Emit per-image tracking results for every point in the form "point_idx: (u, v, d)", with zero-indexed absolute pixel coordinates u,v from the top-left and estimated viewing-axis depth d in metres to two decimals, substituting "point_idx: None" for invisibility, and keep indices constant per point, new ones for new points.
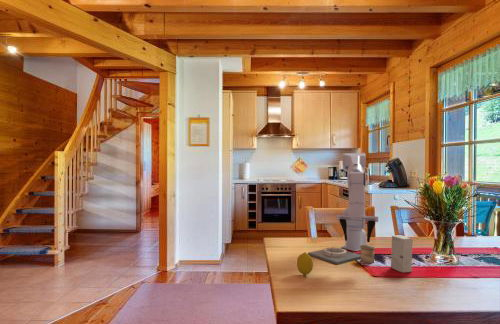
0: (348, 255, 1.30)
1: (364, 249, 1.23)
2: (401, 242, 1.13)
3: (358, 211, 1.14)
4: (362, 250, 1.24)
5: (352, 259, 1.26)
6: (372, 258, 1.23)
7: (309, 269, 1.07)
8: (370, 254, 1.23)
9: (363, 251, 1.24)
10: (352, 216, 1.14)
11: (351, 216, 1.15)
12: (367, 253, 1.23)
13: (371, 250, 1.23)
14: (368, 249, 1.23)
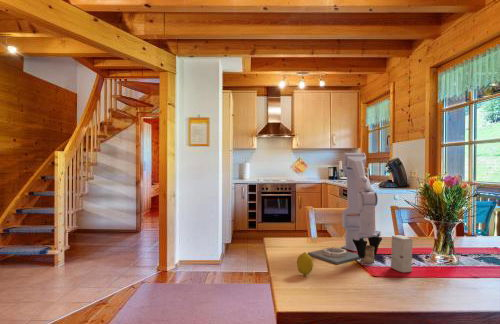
0: (348, 255, 1.30)
1: None
2: (401, 242, 1.13)
3: (374, 230, 1.23)
4: None
5: (352, 259, 1.26)
6: (372, 258, 1.23)
7: (309, 269, 1.07)
8: (370, 254, 1.23)
9: None
10: (370, 235, 1.22)
11: (369, 235, 1.22)
12: (367, 253, 1.23)
13: (371, 250, 1.23)
14: (368, 249, 1.23)
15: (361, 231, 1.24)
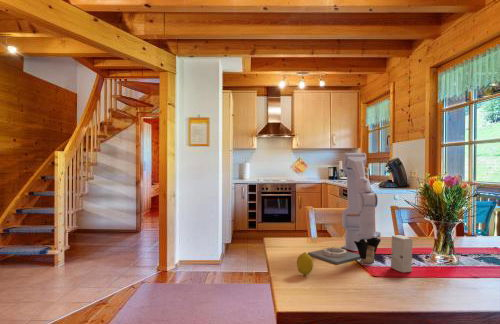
0: (348, 255, 1.30)
1: None
2: (401, 242, 1.13)
3: (374, 231, 1.23)
4: None
5: (352, 259, 1.26)
6: (372, 258, 1.23)
7: (309, 269, 1.07)
8: (370, 254, 1.23)
9: None
10: (370, 236, 1.22)
11: (369, 237, 1.22)
12: (367, 253, 1.23)
13: (370, 250, 1.23)
14: (368, 249, 1.23)
15: (361, 232, 1.24)
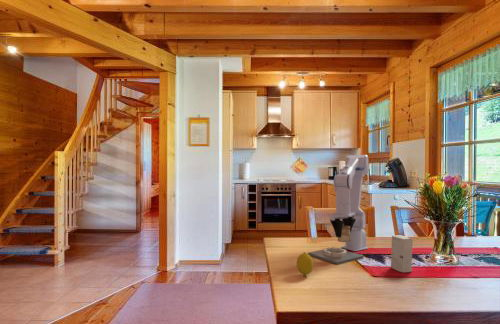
0: (348, 255, 1.30)
1: None
2: (401, 242, 1.13)
3: (349, 211, 1.29)
4: None
5: (352, 259, 1.26)
6: (348, 237, 1.28)
7: (309, 269, 1.07)
8: (346, 233, 1.28)
9: None
10: (345, 216, 1.28)
11: (344, 216, 1.28)
12: (343, 232, 1.28)
13: (346, 228, 1.28)
14: (344, 228, 1.28)
15: (337, 212, 1.30)
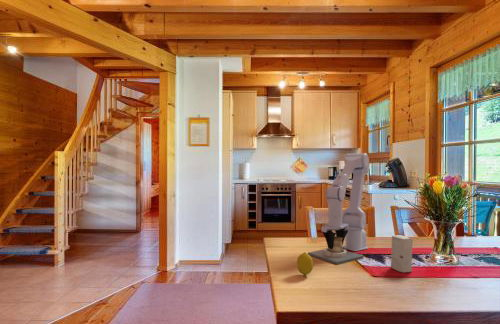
0: (348, 255, 1.30)
1: None
2: (401, 242, 1.13)
3: (341, 222, 1.30)
4: None
5: (352, 259, 1.26)
6: (340, 248, 1.30)
7: (309, 269, 1.07)
8: (338, 244, 1.30)
9: None
10: (337, 227, 1.29)
11: (336, 227, 1.29)
12: (335, 243, 1.30)
13: (338, 240, 1.30)
14: (336, 240, 1.30)
15: (329, 224, 1.32)
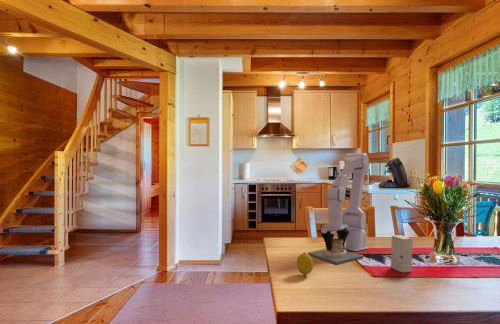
0: (348, 255, 1.30)
1: (333, 242, 1.30)
2: (401, 242, 1.13)
3: (341, 223, 1.30)
4: None
5: (352, 259, 1.26)
6: (340, 250, 1.30)
7: (309, 269, 1.07)
8: (339, 247, 1.30)
9: (332, 244, 1.31)
10: (337, 228, 1.29)
11: (336, 228, 1.29)
12: (336, 246, 1.30)
13: (339, 243, 1.30)
14: (337, 242, 1.29)
15: (329, 224, 1.32)
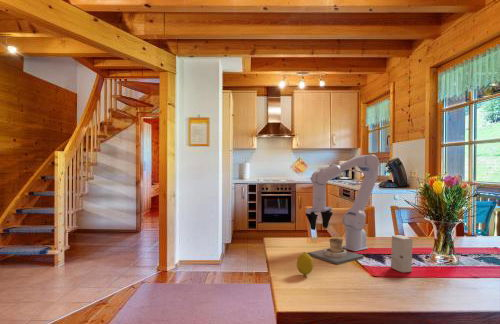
0: (348, 255, 1.30)
1: (332, 242, 1.30)
2: (401, 242, 1.13)
3: (324, 205, 1.39)
4: (331, 243, 1.31)
5: (352, 259, 1.26)
6: (340, 250, 1.30)
7: (309, 269, 1.07)
8: (338, 246, 1.30)
9: (331, 243, 1.31)
10: (321, 209, 1.38)
11: (320, 209, 1.38)
12: (335, 246, 1.30)
13: (338, 242, 1.30)
14: (336, 242, 1.30)
15: (313, 206, 1.41)
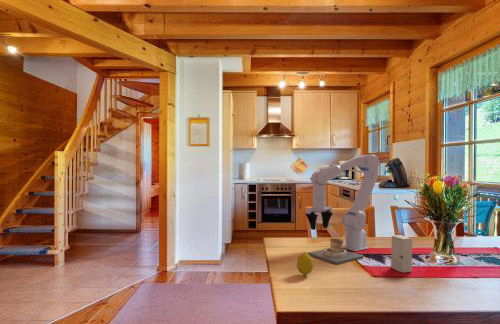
0: (348, 255, 1.30)
1: (333, 241, 1.30)
2: (401, 242, 1.13)
3: (324, 205, 1.39)
4: (331, 242, 1.31)
5: (352, 259, 1.26)
6: (340, 250, 1.30)
7: (309, 269, 1.07)
8: (338, 246, 1.30)
9: (332, 243, 1.31)
10: (321, 209, 1.38)
11: (320, 209, 1.38)
12: (335, 245, 1.30)
13: (339, 242, 1.30)
14: (336, 241, 1.30)
15: (313, 206, 1.41)
